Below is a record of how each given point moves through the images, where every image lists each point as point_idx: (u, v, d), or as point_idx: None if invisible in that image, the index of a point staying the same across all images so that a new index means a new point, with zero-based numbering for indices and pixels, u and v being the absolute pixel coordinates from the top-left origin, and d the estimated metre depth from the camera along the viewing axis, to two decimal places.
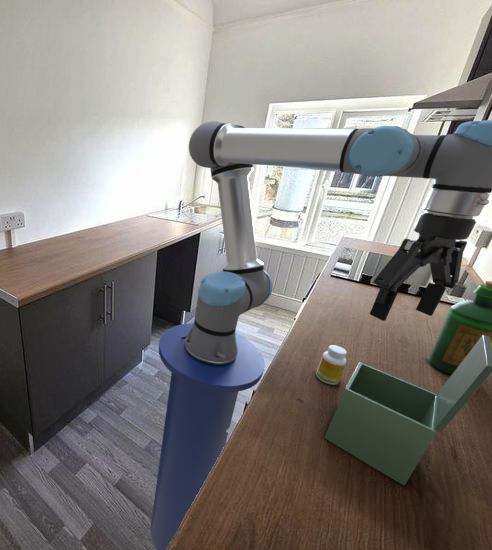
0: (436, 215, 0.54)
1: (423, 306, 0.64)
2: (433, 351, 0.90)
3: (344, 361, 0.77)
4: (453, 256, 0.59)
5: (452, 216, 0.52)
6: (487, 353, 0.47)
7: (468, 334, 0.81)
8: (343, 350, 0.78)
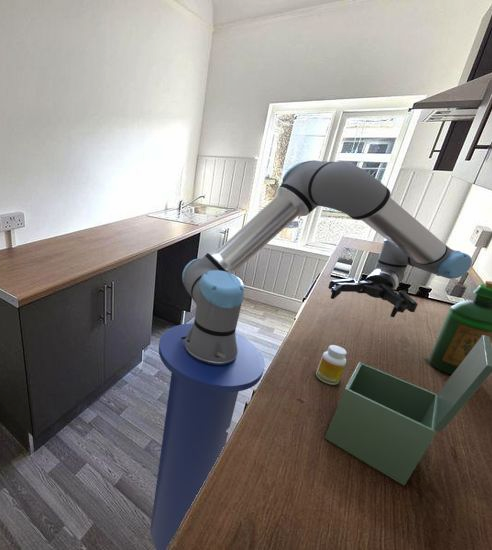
0: None
1: (336, 292, 0.86)
2: (433, 351, 0.90)
3: (344, 361, 0.77)
4: None
5: None
6: (487, 353, 0.47)
7: (468, 334, 0.81)
8: (343, 350, 0.78)
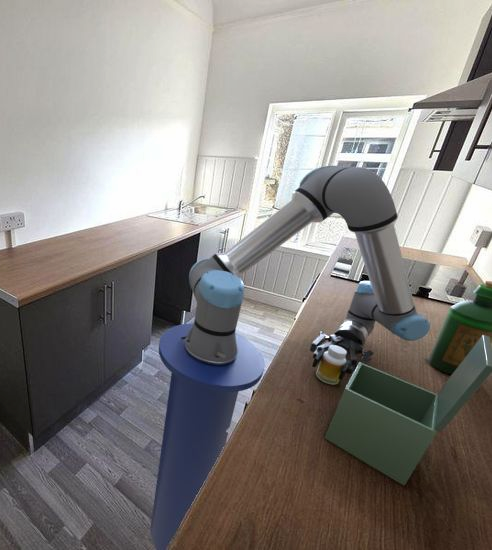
0: None
1: (318, 360, 0.79)
2: (433, 351, 0.90)
3: (344, 361, 0.77)
4: (322, 342, 0.89)
5: None
6: (487, 353, 0.47)
7: (468, 334, 0.81)
8: (343, 350, 0.78)
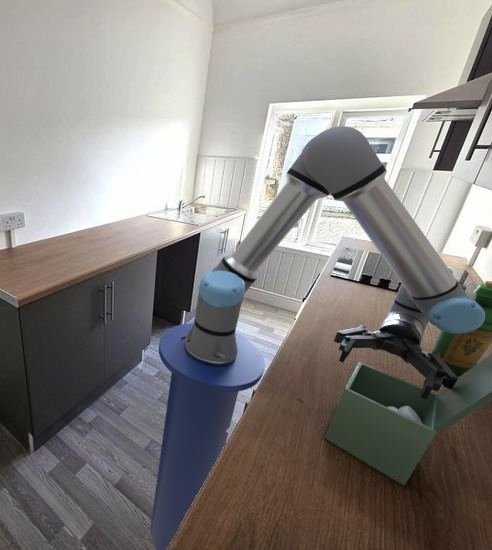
0: None
1: (347, 353, 0.61)
2: None
3: None
4: None
5: None
6: None
7: (468, 334, 0.81)
8: (419, 420, 0.58)
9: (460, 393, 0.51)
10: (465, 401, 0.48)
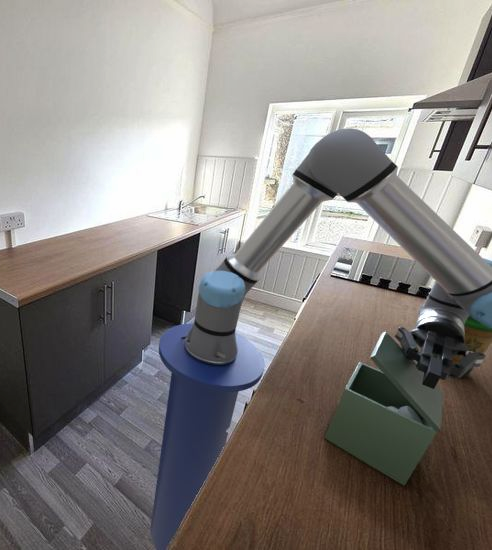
0: None
1: None
2: None
3: None
4: None
5: None
6: (375, 347, 0.57)
7: (468, 334, 0.81)
8: (419, 420, 0.58)
9: None
10: None
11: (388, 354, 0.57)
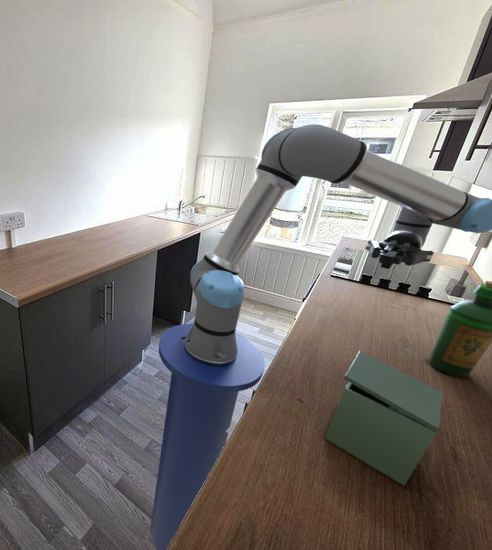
0: None
1: None
2: (433, 351, 0.90)
3: None
4: None
5: None
6: None
7: (468, 334, 0.81)
8: None
9: None
10: None
11: (363, 370, 0.60)
